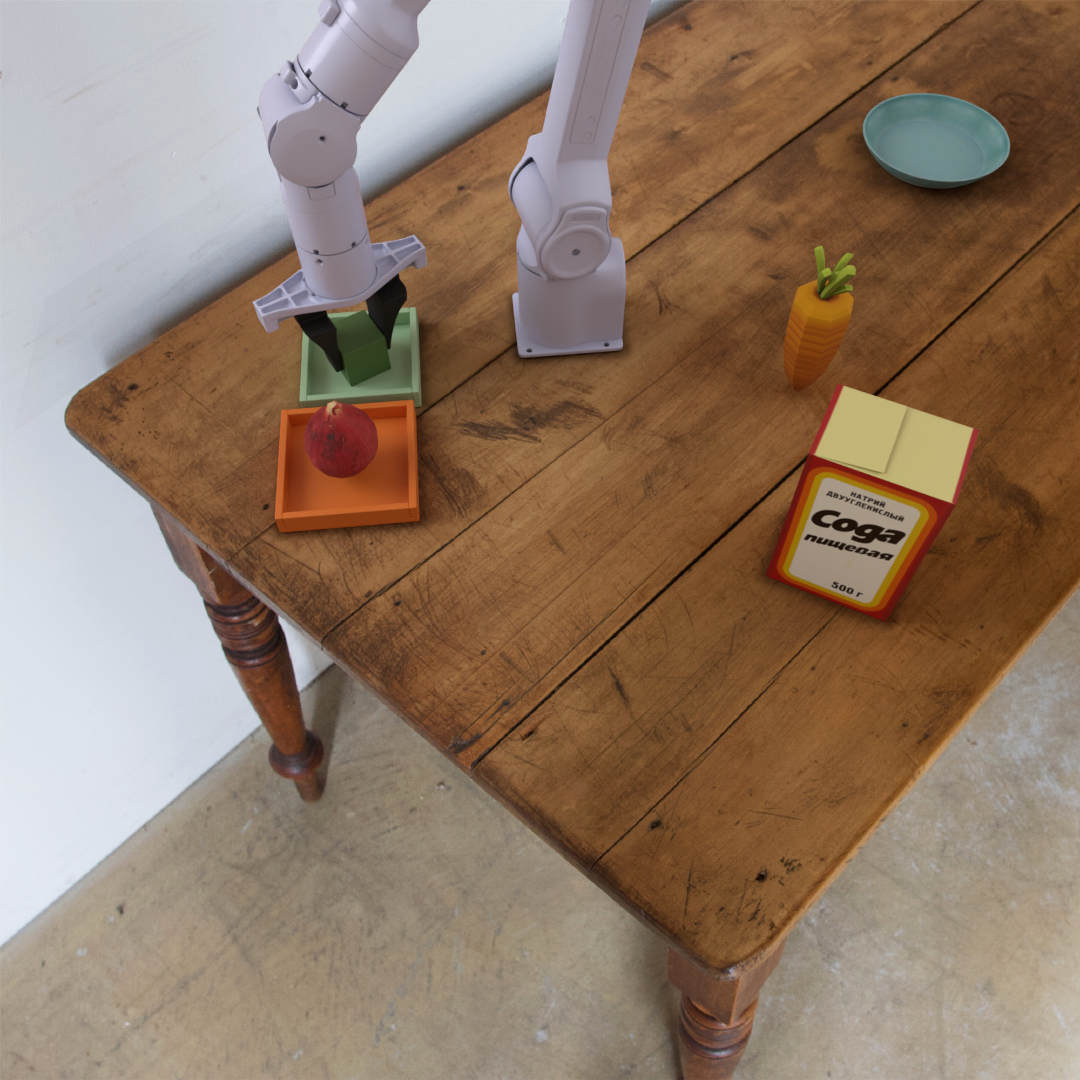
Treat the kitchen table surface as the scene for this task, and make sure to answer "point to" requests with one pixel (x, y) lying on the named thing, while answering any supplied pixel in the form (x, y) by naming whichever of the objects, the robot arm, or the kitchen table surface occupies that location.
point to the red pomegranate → (340, 440)
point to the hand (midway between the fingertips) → (359, 353)
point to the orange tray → (353, 500)
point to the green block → (361, 348)
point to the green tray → (390, 385)
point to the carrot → (818, 322)
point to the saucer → (935, 140)
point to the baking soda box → (870, 501)
